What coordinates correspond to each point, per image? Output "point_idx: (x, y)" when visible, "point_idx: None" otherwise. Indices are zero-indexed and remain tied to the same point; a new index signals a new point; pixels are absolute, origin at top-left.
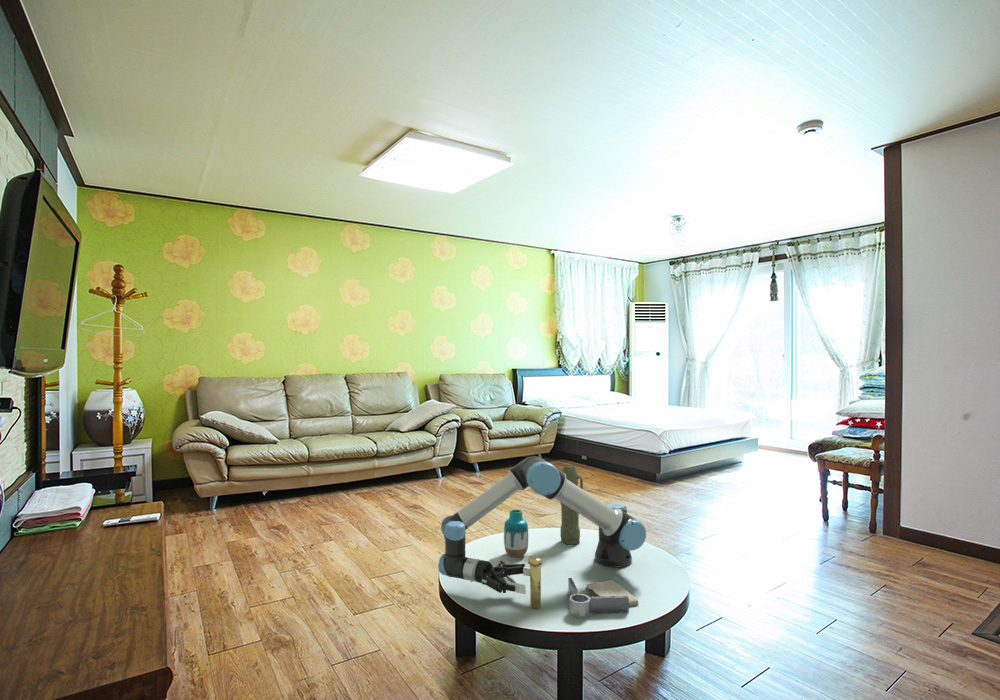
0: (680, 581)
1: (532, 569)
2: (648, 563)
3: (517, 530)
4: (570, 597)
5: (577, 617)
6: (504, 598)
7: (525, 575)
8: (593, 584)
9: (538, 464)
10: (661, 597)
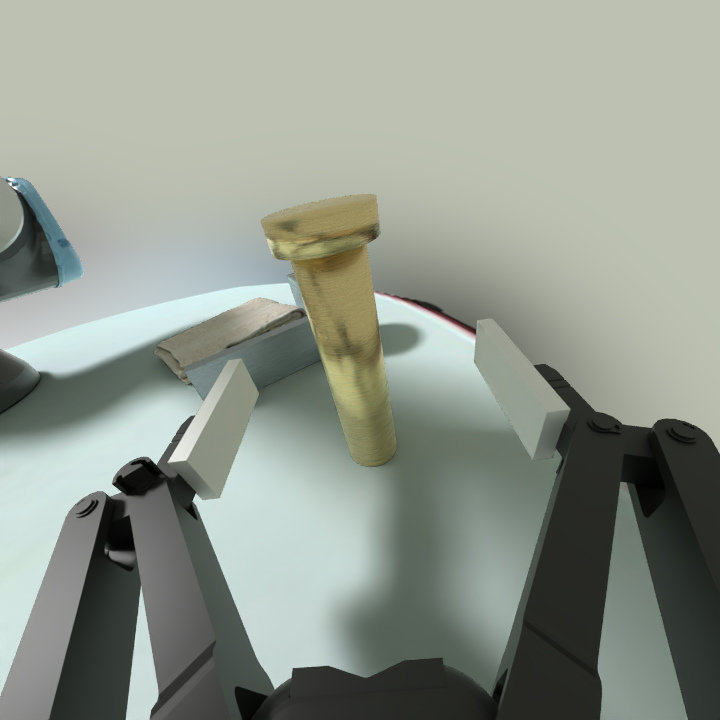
0: (157, 304)
1: (370, 273)
2: (41, 352)
3: None
4: None
5: None
6: None
7: (225, 478)
8: (186, 358)
9: None
10: (227, 299)
